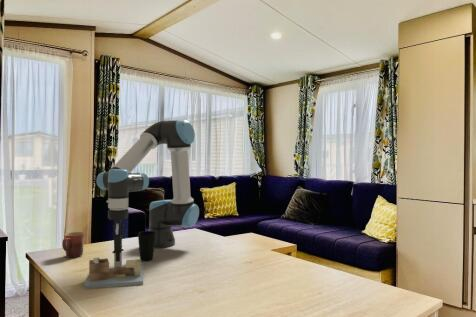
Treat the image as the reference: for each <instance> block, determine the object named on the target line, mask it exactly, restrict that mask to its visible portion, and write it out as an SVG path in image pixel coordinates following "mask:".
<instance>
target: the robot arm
mask: <svg viewBox="0 0 476 317" xmlns="http://www.w3.org/2000/svg"><path fill="white" fill-rule="evenodd" d="M195 137H196V132H195V129H194V126H193V124H191V122H189V121H188V120H183V119H181V120H180V119H179V120H161V121H157V122H154V123H153V124H152V125H150V126H149V127H147V128H146V129H145V130H143V131H142V133H141V134H140V136H139V139H138V140H137V141H136V142H135V143H134V144H133V145H132V146H131V147H130V148H129V149H128V151H126V152H125V154H123V156H121V158H119V160H118V161H117V162H116V163H115V164H114V165H113V166H112V167H111V168H110V169H109V170H108V171H104V172H100V173H99V174H98V175H97V176H96V185H97V187H98V188H99V189H101V190H106V191H107V193H108V194H107V197H108V198H107V200H106V203H107V208H108V210H107V219H109V221H114V222H113V224H112V227H111V228H112V235H113V251H112V252H111V253H112V254H114V255H113V257H114V259H113V262H114V263H113V266H114V268H117V267H122V265H123V260H122V259H123V257H122V256H123V254H122V253H123V252H124V248H123V233H124V226H125V223H124V222H123V220H127V219H128V218H129V193H132V192H141V191H145V190H146V189H148V187H149V184H150V178H149V176H148V175H147V174H146V173H144V172H133V171H134V169H135V168H136V167H137V166H139V164H140V163H141V162H142V161H143V159H144V158H145V157H146V156H147V155H148V154H149V153H150V152H151V150H154V149H156V148H157V147H158V146H159V145H166V147H167V149H168V150H169V151H170V161H171V162H170V164H171V177H172V192H173V193H172V194H173V198H172V199H163V200H156V201H151V202H150V204H149V210H148V211H149V213H148V214H149V215H148V216H149V220H148V221H149V224H148V225H149V227H148V228H149V229H148V231H153V232H155V243H154V248H158V249H159V248H168V247H172V246H174V245H175V244H176V238H175V236H174V232H173V227H181V228H191V227H193V226H194V225H196V223H197V222H198V220H199V219H198V218H199V217H200V208H199V206H198V205H197V204H196V203H195V201H194V200H195V199H194V198H193V197H192V196H191V181H190V163H189V162H190V161H189V160H190V159H189V150H190V149H191V147H192V146H191V145H192V144H193V143H194V142H195Z"/></svg>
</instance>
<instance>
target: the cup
mask: <svg viewBox="0 0 476 317" xmlns="http://www.w3.org/2000/svg"><path fill="white" fill-rule="evenodd" d="M137 240H138V241H137V242H138V249H139V250H138V251H139V259H141V262H151V261H153V259H154V251H155V247H154V243H155V232H153V231H149V230H145V231H139V232H138V233H137Z"/></svg>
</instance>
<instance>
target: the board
mask: <svg viewBox="0 0 476 317" xmlns="http://www.w3.org/2000/svg"><path fill="white" fill-rule="evenodd" d="M125 265H126V264H124V265H123V264H122V267H125ZM109 268H114V265H109ZM144 271H145V264H144V263H141V276H139V277H135V267H134V275H127V276H125V278H121V279H117V277H111V278H109V279H107V280H99V281H91V282H90V278H89V275H88V276H87V277H86V280H85V282H84V284H83V290H86V289H99V288H100V289H101V288H113V287H114V288H115V287H125V286H128V287H129V286H140V285H142V286H143V285H144V276H145V275H144V273H145V272H144Z"/></svg>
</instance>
